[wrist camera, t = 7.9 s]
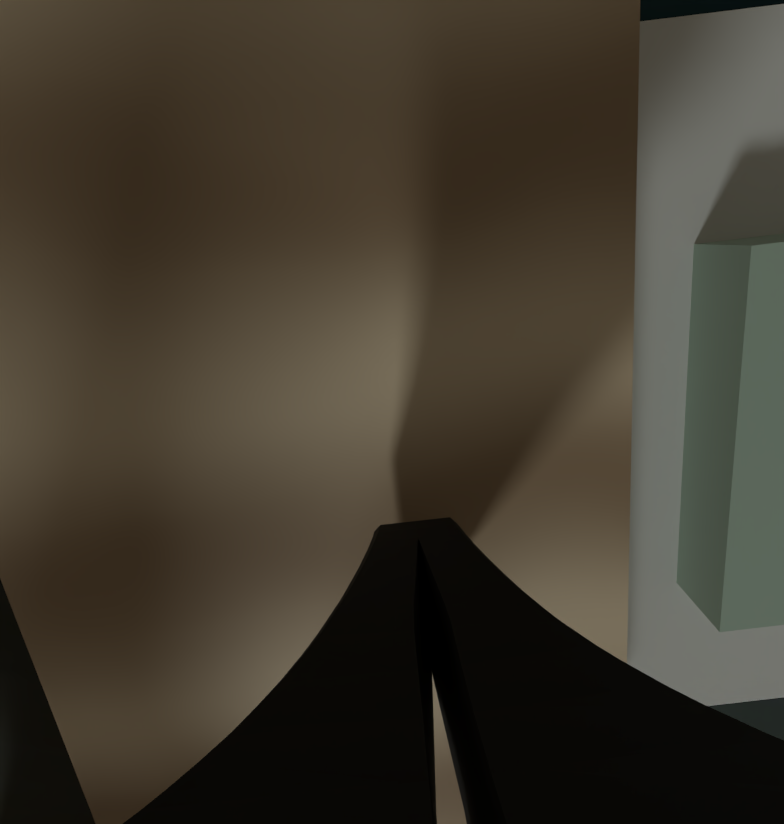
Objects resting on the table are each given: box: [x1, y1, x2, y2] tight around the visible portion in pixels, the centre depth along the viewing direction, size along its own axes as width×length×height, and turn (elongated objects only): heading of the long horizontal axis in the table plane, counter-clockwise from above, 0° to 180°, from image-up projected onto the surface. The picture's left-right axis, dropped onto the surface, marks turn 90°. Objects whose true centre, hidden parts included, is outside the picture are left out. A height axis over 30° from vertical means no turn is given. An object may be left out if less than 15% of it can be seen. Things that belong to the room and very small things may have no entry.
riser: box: [0, 0, 640, 824], centre depth 12 cm, size 20×12×4 cm, turn 7°
